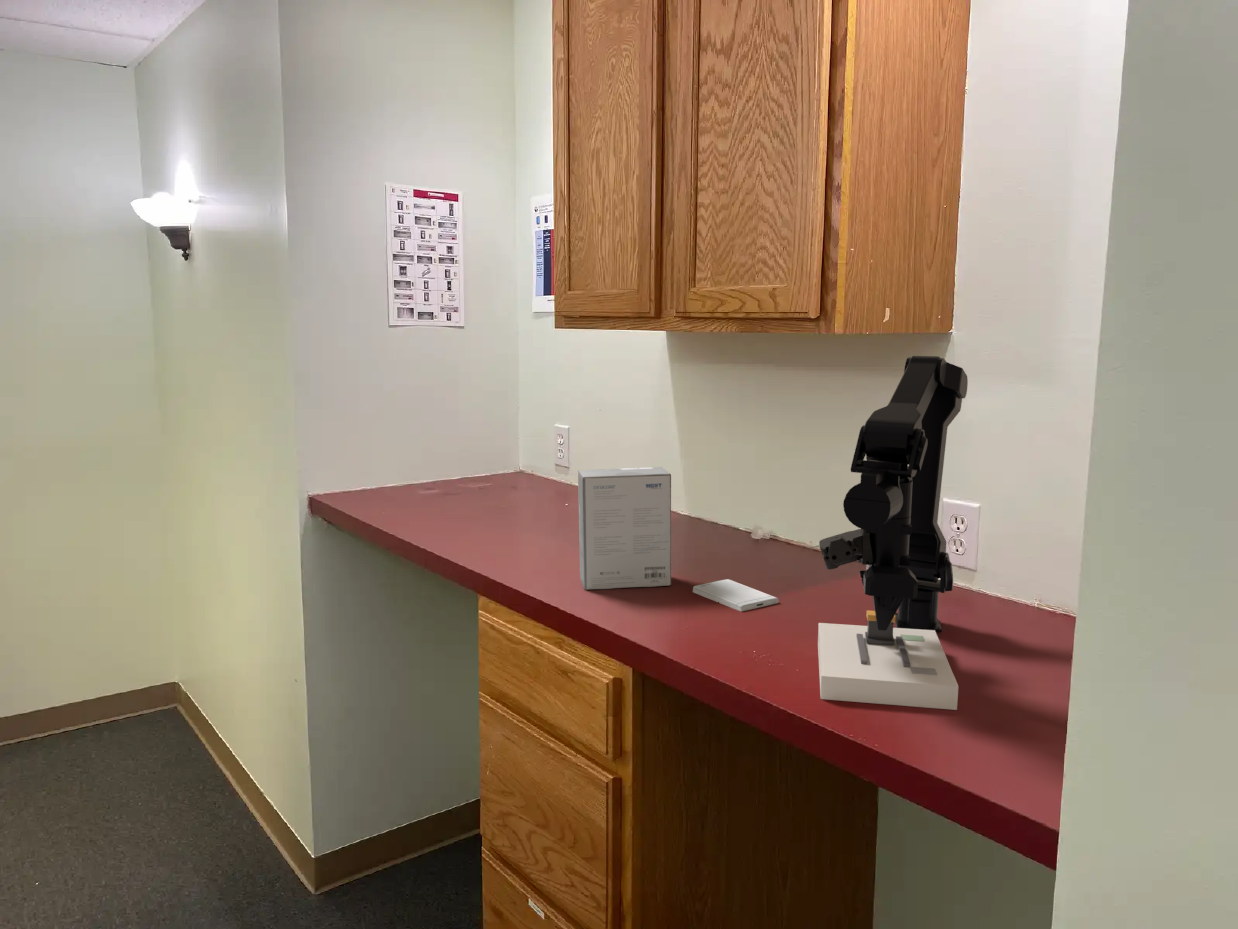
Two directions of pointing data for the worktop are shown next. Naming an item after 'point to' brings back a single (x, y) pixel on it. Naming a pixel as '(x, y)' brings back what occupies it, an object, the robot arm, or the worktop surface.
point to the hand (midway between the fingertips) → (881, 629)
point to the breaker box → (885, 668)
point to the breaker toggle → (878, 631)
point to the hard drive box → (624, 527)
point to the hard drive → (734, 595)
